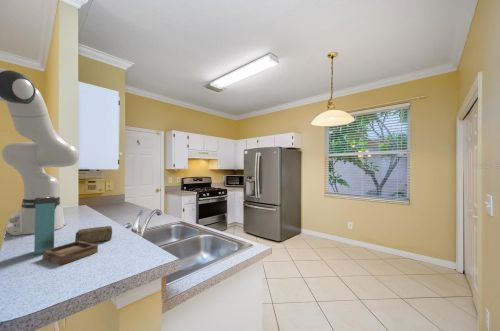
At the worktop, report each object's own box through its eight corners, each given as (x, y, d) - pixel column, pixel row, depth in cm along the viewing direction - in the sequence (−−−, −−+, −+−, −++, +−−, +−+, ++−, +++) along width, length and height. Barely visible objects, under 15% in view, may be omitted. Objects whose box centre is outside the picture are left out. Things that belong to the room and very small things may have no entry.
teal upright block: (33, 251, 71) (35, 196, 71) (53, 247, 74) (54, 195, 74) (33, 255, 67) (35, 198, 68) (54, 251, 71) (55, 197, 71)
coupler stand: (42, 259, 65) (42, 250, 65) (78, 247, 74) (78, 240, 74) (62, 265, 61) (62, 256, 61) (97, 252, 71) (97, 244, 71)
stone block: (112, 240, 82) (112, 227, 82) (74, 246, 76) (74, 233, 76) (111, 236, 87) (112, 224, 87) (76, 242, 80) (76, 229, 80)
